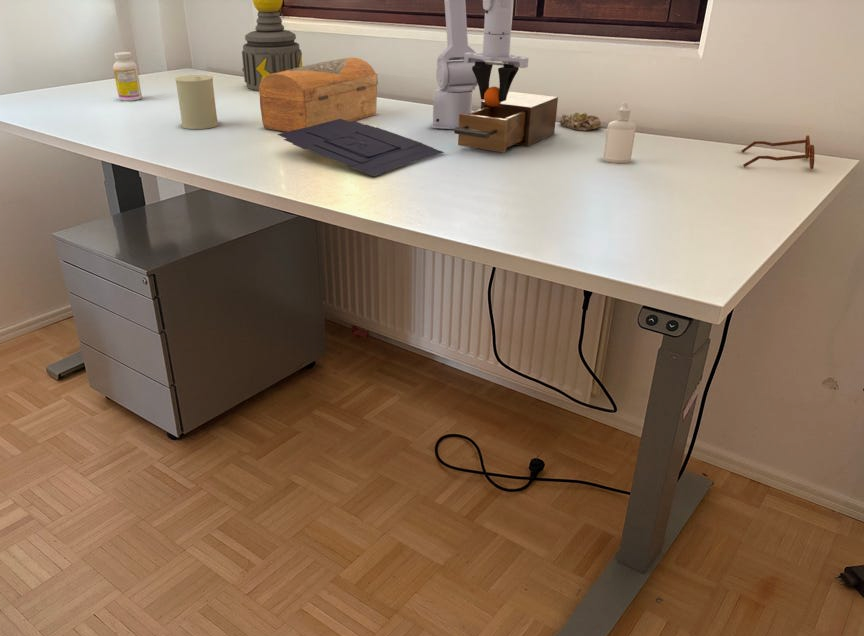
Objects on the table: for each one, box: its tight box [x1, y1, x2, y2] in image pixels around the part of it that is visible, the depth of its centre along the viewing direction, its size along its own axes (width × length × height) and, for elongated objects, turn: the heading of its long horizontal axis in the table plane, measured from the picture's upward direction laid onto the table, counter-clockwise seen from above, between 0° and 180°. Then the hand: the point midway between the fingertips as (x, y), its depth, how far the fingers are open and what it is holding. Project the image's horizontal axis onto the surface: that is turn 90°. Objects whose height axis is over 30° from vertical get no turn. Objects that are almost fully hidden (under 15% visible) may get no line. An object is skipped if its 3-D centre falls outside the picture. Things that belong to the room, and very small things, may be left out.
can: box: [174, 74, 219, 130], centre depth 187 cm, size 9×9×12 cm
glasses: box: [740, 135, 815, 170], centre depth 155 cm, size 13×13×5 cm
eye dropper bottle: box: [602, 101, 637, 164], centre depth 155 cm, size 4×6×12 cm
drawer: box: [453, 106, 528, 153], centre depth 165 cm, size 18×11×7 cm, turn 145°
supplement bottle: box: [112, 51, 143, 102], centre depth 218 cm, size 7×7×13 cm
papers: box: [276, 119, 445, 177], centre depth 163 cm, size 24×30×4 cm
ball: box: [483, 86, 501, 107], centre depth 164 cm, size 4×4×4 cm
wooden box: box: [258, 57, 379, 133], centre depth 190 cm, size 30×16×14 cm, turn 145°
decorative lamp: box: [241, 0, 303, 92], centre depth 230 cm, size 19×19×30 cm
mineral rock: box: [559, 112, 602, 132], centre depth 185 cm, size 11×4×8 cm
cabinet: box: [480, 91, 559, 147], centre depth 175 cm, size 15×13×9 cm
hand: (493, 99), depth 165 cm, fingers closed on ball, 4 cm apart
